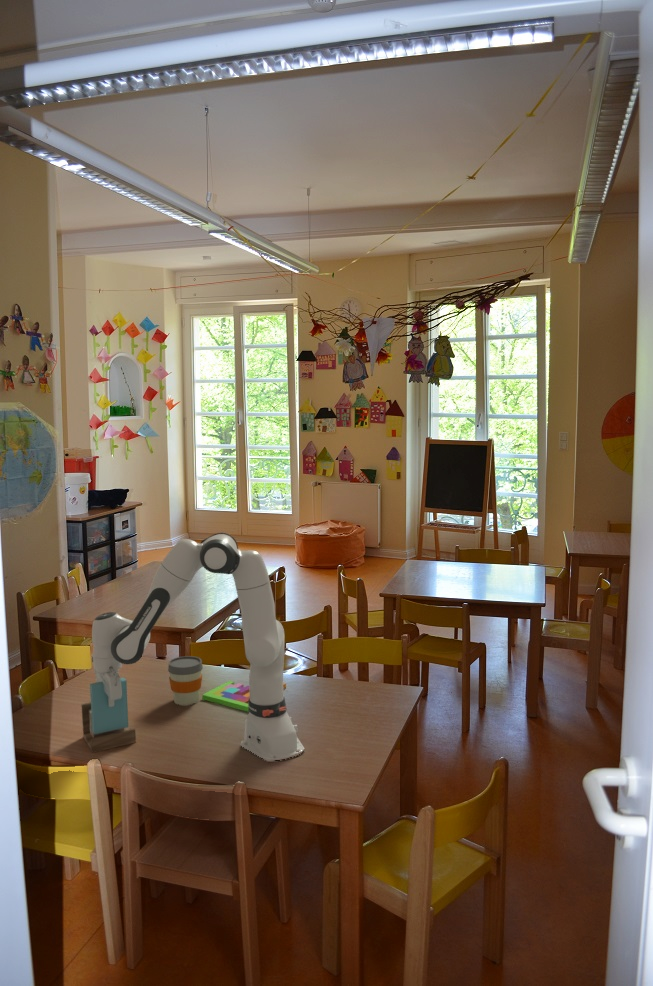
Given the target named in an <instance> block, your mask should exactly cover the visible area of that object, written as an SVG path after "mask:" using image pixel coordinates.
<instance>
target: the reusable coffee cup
mask: <svg viewBox="0 0 653 986" xmlns="http://www.w3.org/2000/svg"><path fill="white" fill-rule="evenodd" d="M167 669H168V670H167V672H169V679H168V680H169V685H170V690H171V691H172V695H173V702H174V704H176V705H178V704H179V706H191V705H194V704H193V703H195V704H196V703H198V702H199V701H198V700H199V699H200V689H201V688H202V682H203V673H202V671H203V661H202V658H200V657H199V656H193V655H185V656H178V657H175V658H172V659H170V660H169V661H168V668H167ZM190 704H191V705H190Z"/></svg>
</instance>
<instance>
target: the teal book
mask: <svg viewBox="0 0 653 986" xmlns="http://www.w3.org/2000/svg"><path fill="white" fill-rule="evenodd" d="M120 679H121V688H122V697H121V699H117V700H114V706H112V707H109V706H108V696H107V694H106V693H105V691H104V684H103V683H102V682H97V681H96V682H93V683H89V691H90V692H89V693H90V694H89V695H90V702H91V716H92V731H93V733H94V735H95V734H99V733H104V732H108V731H113V730H117V729H122V728H126V727H128V728H129V712H128V711H129V708H128V688H127V687H128V686H127V685H128V684H127V683H128V682H127V679H126V678H125V677H120Z"/></svg>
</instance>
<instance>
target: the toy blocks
mask: <svg viewBox="0 0 653 986" xmlns="http://www.w3.org/2000/svg"><path fill="white" fill-rule="evenodd" d="M285 689H287V683H286V682H283V690H285ZM249 698H250V690H249V685H246V686H245V687H244V683H240V682H238V683H236V684H235V681H231V680H228V681H227V682H225V683H222V684H220V685H219V686H217V687H215V688H213V689H210V690H209V691H207V692H205V693H203V694H202V700H203V701H208V702H212V703H215V704H219V705H223V706H225V707H229V708H232V709H233V708H234V709H236V710H241V711H244V712H248V713H249V708H248V701H249Z"/></svg>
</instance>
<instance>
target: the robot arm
mask: <svg viewBox="0 0 653 986" xmlns="http://www.w3.org/2000/svg"><path fill="white" fill-rule="evenodd" d="M201 568H204V570H206V571H208V572H209V573H212V574H222V575H223V574H224V575H232V577H233V581H234V584H235V586H234V587H235V591H236V594H237V600H238V603H239V609H240V613H241V624H242V625H241V626H242V634H243V641H244V653H245V657H246V658H245V659H247V661H248V663H249V664H250V665H249V667H250V668H249V674H248V681H249V682H248V683H249V685H248V686H249V690H250V698H249V701H248V708H249V712H248V715H247V716H246V718H245V721H244V733H243V734H244V735H243V736H244V737H243V738H244V739H243V740H241V742H240V747H241V746H242V748H243V747H244V748H243V749H244V750H246V749H247V751H248V750H249V751H248V752H250V751H251V752H252V753H251V752H250V753H251V754H253V753H254V754H253V755H255V754H256V755H257V756H256V755H255V756H256V757H258V756H259V757H258V758H260V757H261V758H263V759H265V760H276V759H281V758H286V757H289V756H292V755H295V754H298V753H300V752H302V751H303V750H304V749H305V747H304V745H303V744H302V742H301V741H300V739H299V738H298V736H297V732H298V731H299V728H298V724H293V722H292V720H293V719H292V718H293V717H292V716H289V713H288V712H287V702H286V698H285V696H284V689H283V683H284V664H285V638H286V637H285V629H284V626H283V625H282V623H281V622H280V621H279V620H277V617H276V604H275V603H276V602H275V600H274V599H275V598H274V593H273V590H272V585H271V581H270V576H269V573H268V572H269V571H268V570H267V566H266V564H265V561H264V558H263V556H262V555H261V554H260V553H259V552H258V551H256V550H253V549H252V550H251V549H248V550H241V549H239V546H238V543H237V540H236V539H235V537H233V536H232V535H231V534H228V532H227V533H226V532H218V533H214V534H212V535H210V536H209V537H206V538H205V539H203V540H201V541H200V543H199V542H197V541H195V540H193V539H190V538H189V539H188V538H183V539H180V540H178V542H177V543H176V544H174V546H173V547H172V548H171V549H170V550H169V552H167V554H166V555H165V557H164V558H163V560H162V561H161V563H160V564H159V566H158V568H157V570H156V572H155V574H154V576H153V579H152V581H151V584H150V587H149V589H148V593H147V595H146V597H145V600H144V603H143V604H142V606H141V608H140V609H139V611H138V612H137V613H136V616H135V617H134V618H133V620H131V619H128V618H126V617H123V616H121V615H120V614H119V613H117V612H111V611H109V612H105V613H101V614H99V615H98V616H96V617H95V619H94V620H93V622H92V627H91V642H92V646H93V651H92V656H91V662H92V665H93V670H94V675H95V680H96V683H97V682H102V683H103V684H104V691H105V693H106V694H107V696H108V706H109V707H112V706H114V700H117V699H121V697H122V688H121V679H120V678H121V676H120V674H119V670H120V669H121V668H122V666H123V665H133V664H136V663H137V662H138V661H140V660H141V659H142V657H143V654H144V651H145V650H146V647H147V646H148V644H149V642H150V641H151V631H152V629H153V628H154V626H155V625H156V623H157V621H158V620H159V618H160V617H161V616H162V614H163V613H164V612H165V611H166V609H168V608H169V607H170V605H172V604H173V603H174V602H175V601H176V600H177V599H178V598H179V596H180V595H181V594H182V593H183V592H184V591H185V590H186V589H187V587H188V586H189V585H190V583H191V581H193V579H194V577H195V575H196V574H197V572H198V571H199V570H200V569H201ZM296 751H299V752H296ZM261 758H260V759H261ZM263 759H262V760H263ZM265 760H264V761H265Z"/></svg>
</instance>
